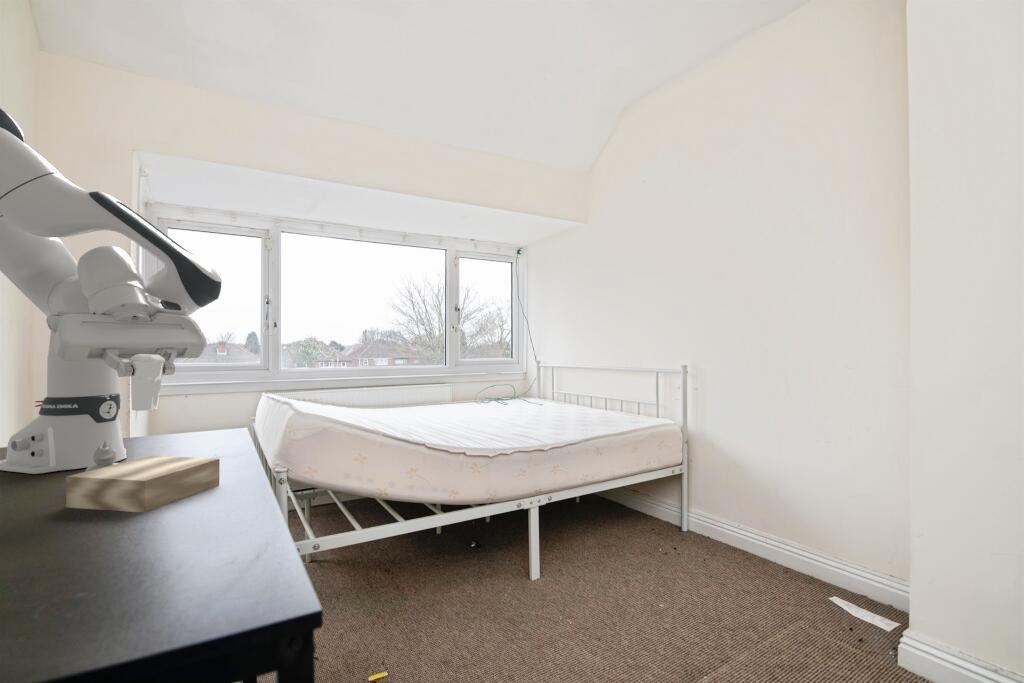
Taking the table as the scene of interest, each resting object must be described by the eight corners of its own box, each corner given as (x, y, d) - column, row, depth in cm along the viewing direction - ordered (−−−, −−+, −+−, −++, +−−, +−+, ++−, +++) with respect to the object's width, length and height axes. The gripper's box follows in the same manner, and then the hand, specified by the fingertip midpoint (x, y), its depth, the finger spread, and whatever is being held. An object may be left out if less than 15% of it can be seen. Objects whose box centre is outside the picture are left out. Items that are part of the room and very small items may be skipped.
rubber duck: (83, 492, 80) (83, 444, 80) (84, 483, 85) (85, 438, 85) (125, 485, 83) (125, 439, 84) (124, 478, 88) (124, 434, 89)
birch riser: (66, 509, 72) (66, 476, 72) (150, 483, 86) (151, 455, 86) (145, 515, 70) (145, 480, 70) (219, 487, 84) (219, 458, 84)
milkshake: (172, 408, 80) (176, 349, 81) (145, 411, 75) (149, 347, 76) (148, 408, 81) (151, 349, 81) (119, 410, 75) (123, 347, 76)
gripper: (48, 296, 73) (68, 361, 68) (195, 305, 90) (221, 358, 85) (39, 326, 76) (58, 391, 70) (184, 329, 93) (208, 382, 87)
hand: (148, 373), depth 78 cm, fingers closed on milkshake, 4 cm apart
